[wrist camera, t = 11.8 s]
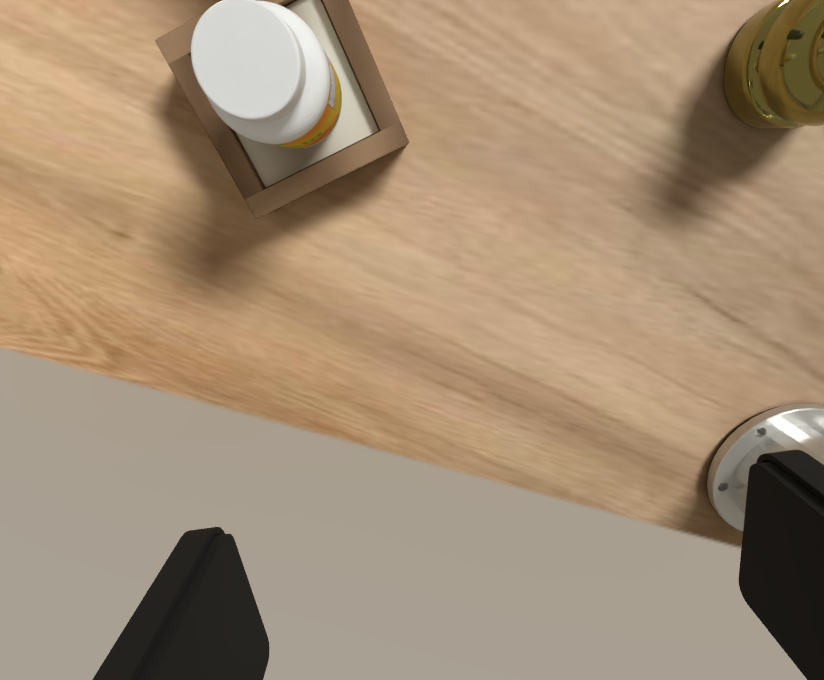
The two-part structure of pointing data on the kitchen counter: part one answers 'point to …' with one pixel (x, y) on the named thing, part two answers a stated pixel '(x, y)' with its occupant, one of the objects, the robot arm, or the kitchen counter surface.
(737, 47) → the green chess piece
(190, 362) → the kitchen counter surface
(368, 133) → the picture frame
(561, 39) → the kitchen counter surface
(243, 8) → the supplement bottle
